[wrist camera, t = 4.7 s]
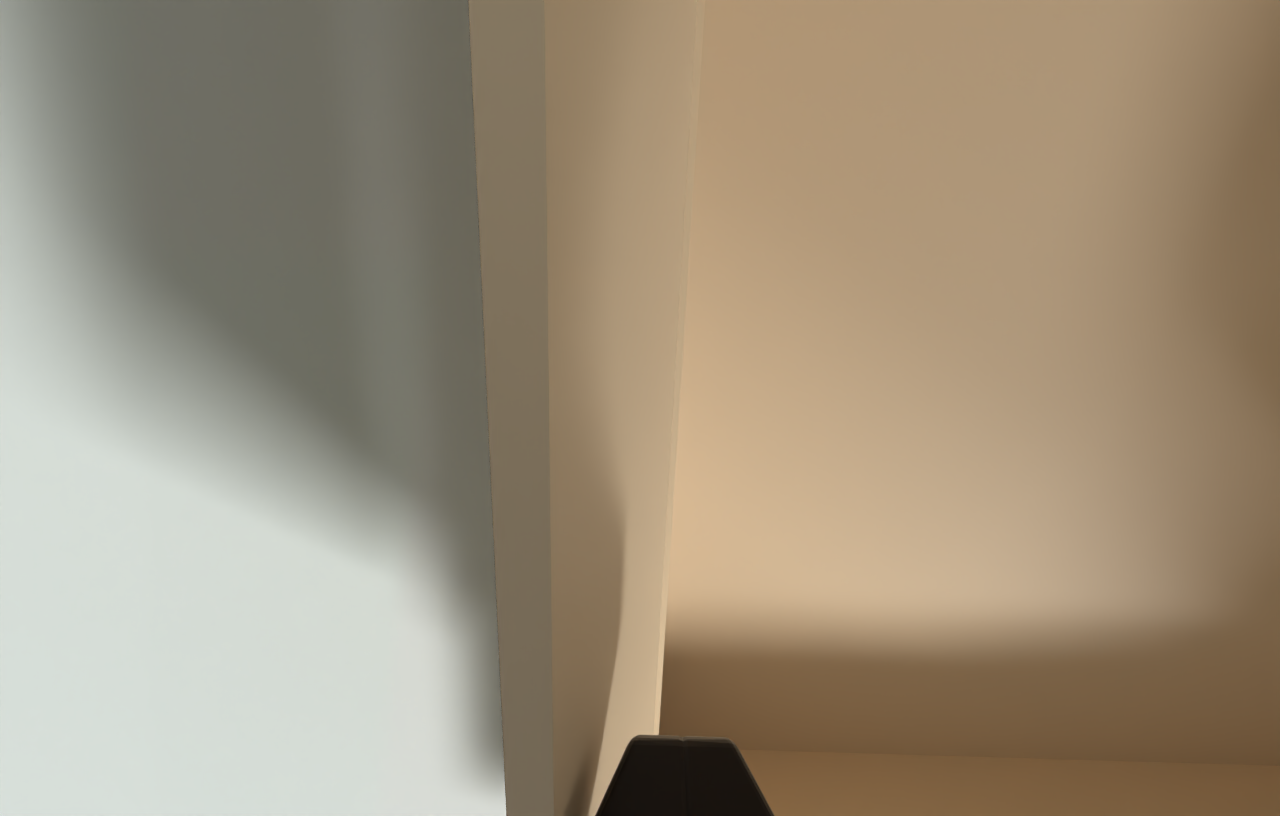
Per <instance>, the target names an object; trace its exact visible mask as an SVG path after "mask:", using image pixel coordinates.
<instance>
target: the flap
mask: <svg viewBox="0 0 1280 816" xmlns="http://www.w3.org/2000/svg"><path fill="white" fill-rule="evenodd" d="M468 6H469V27H470V49H471V70H472V91H473V112H474V134H475V155H476V176H477V198H478V219H479V240H480V261H481V283H482V304H483V325H484V347H485V368H486V389H487V410H488V432H489V453H490V474H491V495H492V517H493V538H494V559H495V581H496V602H497V623H498V644H499V666H500V687H501V708H502V730H503V751H504V772H505V793H506V815H507V816H595V815H596V813H597V810H598V808H599V806H600V804H601V802H602V799H603V797H604V795H605V793H606V791H607V788H608V786H609V784H610V782H611V780H612V777H613V775H614V773H615V771H616V769H617V767H618V764H619V762H620V760H621V758H622V756H623V753H624V751H625V749H626V747H627V745H628V743H629V742H630V740H631V739H632V738H633V737H635V736H637V735H653V734H654V717H655V700H656V683H657V666H658V650H659V633H660V616H661V599H662V583H663V566H664V549H665V532H666V515H667V499H668V482H669V465H670V448H671V432H672V415H673V398H674V381H675V365H676V348H677V331H678V314H679V297H680V281H681V264H682V247H683V230H684V214H685V197H686V180H687V163H688V146H689V130H690V113H691V96H692V79H693V63H694V46H695V29H696V12H697V0H468Z"/></svg>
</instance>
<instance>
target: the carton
mask: <svg viewBox="0 0 1280 816" xmlns="http://www.w3.org/2000/svg"><path fill="white" fill-rule="evenodd" d="M653 735H671V736H680V737H684V736H703V737H725V738H728V739H730V740H732V741H733V742H734V743H735V745H736V746H737V747H738V749H739V750H740V752H741V754H742V756H743V758H744V759H745V761H746V763H747V765H748V767H749V769H750V771H751V772H752V774H753V776H754V778H755V780H756V782H757V784H758V785H759V787H760V789H761V791H762V793H763V795H764V797H765V799H766V800H767V802H768V804H769V806H770V808H771V810H772V812H773V813H774V815H775V816H1280V0H697V12H696V29H695V46H694V63H693V79H692V96H691V113H690V130H689V146H688V163H687V180H686V197H685V214H684V230H683V247H682V264H681V281H680V297H679V314H678V331H677V348H676V365H675V381H674V398H673V415H672V432H671V448H670V465H669V482H668V499H667V515H666V532H665V549H664V566H663V583H662V599H661V616H660V633H659V650H658V666H657V683H656V700H655V717H654V734H653Z"/></svg>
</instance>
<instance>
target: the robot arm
mask: <svg viewBox="0 0 1280 816" xmlns="http://www.w3.org/2000/svg"><path fill="white" fill-rule="evenodd" d="M595 816H775V815H774V813H773V812H772V810H771V808H770V806H769V804H768V802H767V800H766V799H765V797H764V795H763V793H762V791H761V789H760V787H759V785H758V784H757V782H756V780H755V778H754V776H753V774H752V772H751V771H750V769H749V767H748V765H747V763H746V761H745V759H744V758H743V756H742V754H741V752H740V750H739V749H738V747H737V746H736V745H735V743H734V742H733V741H732V740H730V739H728V738H725V737H703V736H684V737H680V736H671V735H637V736H635V737H633V738H632V739H631V740H630V742H629V743H628V745H627V747H626V749H625V751H624V753H623V756H622V758H621V760H620V762H619V764H618V767H617V769H616V771H615V773H614V775H613V777H612V780H611V782H610V784H609V786H608V788H607V791H606V793H605V795H604V797H603V799H602V802H601V804H600V806H599V808H598V810H597V813H596V815H595Z"/></svg>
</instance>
